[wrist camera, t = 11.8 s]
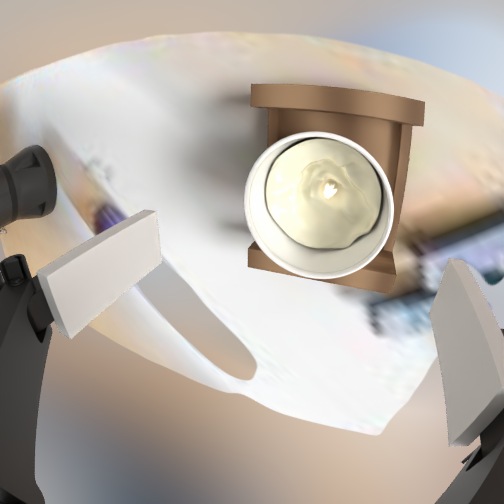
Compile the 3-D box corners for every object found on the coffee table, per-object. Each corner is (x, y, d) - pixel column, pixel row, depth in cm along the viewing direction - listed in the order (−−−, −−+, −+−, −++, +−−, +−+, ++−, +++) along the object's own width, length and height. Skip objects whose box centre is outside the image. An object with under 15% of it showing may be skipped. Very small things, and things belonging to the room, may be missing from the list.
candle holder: (400, 186, 26) (423, 227, 16) (327, 240, 31) (306, 302, 21) (336, 109, 25) (321, 98, 15) (267, 170, 30) (215, 199, 20)
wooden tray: (269, 239, 35) (247, 266, 29) (274, 91, 27) (251, 84, 21) (387, 260, 30) (390, 294, 25) (410, 106, 23) (424, 101, 17)
